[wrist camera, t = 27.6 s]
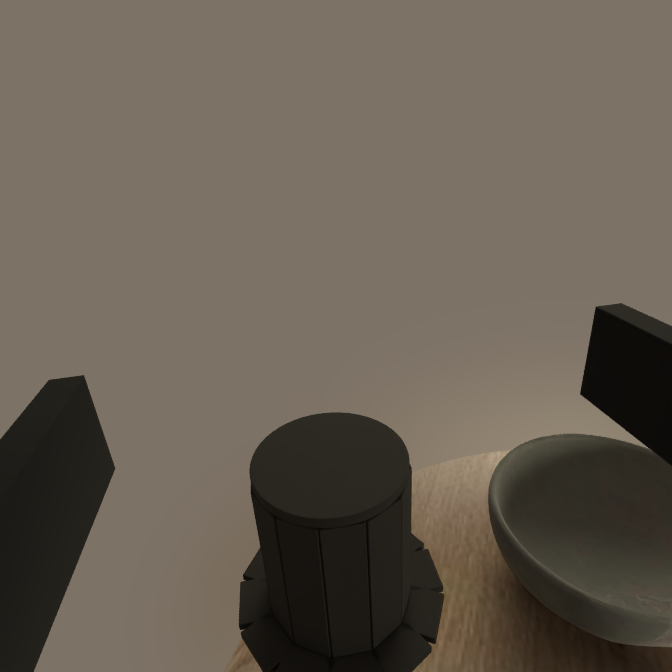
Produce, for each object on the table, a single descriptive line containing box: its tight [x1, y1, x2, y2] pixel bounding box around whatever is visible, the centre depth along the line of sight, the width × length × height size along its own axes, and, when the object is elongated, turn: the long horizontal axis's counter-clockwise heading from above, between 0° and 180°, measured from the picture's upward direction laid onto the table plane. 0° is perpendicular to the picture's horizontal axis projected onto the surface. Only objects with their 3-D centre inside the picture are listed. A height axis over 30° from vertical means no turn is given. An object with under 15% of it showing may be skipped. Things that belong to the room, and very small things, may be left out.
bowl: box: [488, 434, 672, 647], centre depth 41 cm, size 20×20×10 cm
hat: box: [239, 413, 444, 672], centre depth 27 cm, size 13×13×11 cm
